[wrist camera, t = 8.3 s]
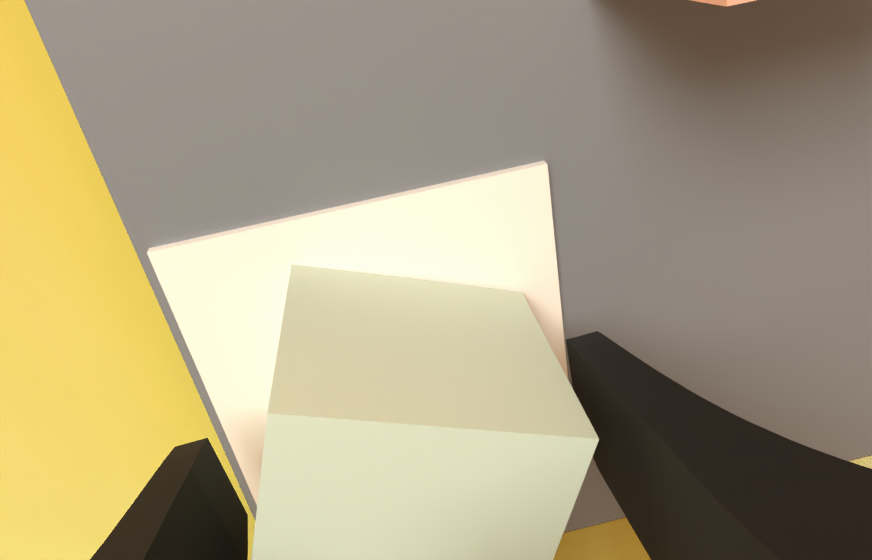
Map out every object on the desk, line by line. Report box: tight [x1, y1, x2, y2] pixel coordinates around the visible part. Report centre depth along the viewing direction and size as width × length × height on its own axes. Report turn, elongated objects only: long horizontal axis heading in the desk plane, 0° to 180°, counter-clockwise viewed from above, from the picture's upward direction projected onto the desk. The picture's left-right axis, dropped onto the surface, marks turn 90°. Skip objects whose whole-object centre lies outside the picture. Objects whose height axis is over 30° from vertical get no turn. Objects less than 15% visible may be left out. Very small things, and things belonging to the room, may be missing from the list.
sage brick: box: [251, 264, 599, 560], centre depth 12 cm, size 5×5×4 cm
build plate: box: [25, 0, 872, 533], centre depth 13 cm, size 20×19×1 cm
